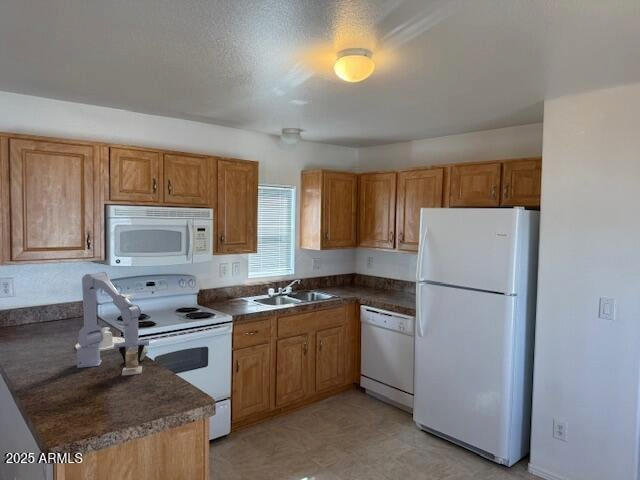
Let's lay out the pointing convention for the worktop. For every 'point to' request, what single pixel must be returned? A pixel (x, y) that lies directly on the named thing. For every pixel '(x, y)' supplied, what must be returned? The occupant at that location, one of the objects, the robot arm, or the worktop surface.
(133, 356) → the maple block
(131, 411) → the worktop surface
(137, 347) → the die
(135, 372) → the tray
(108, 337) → the dish
